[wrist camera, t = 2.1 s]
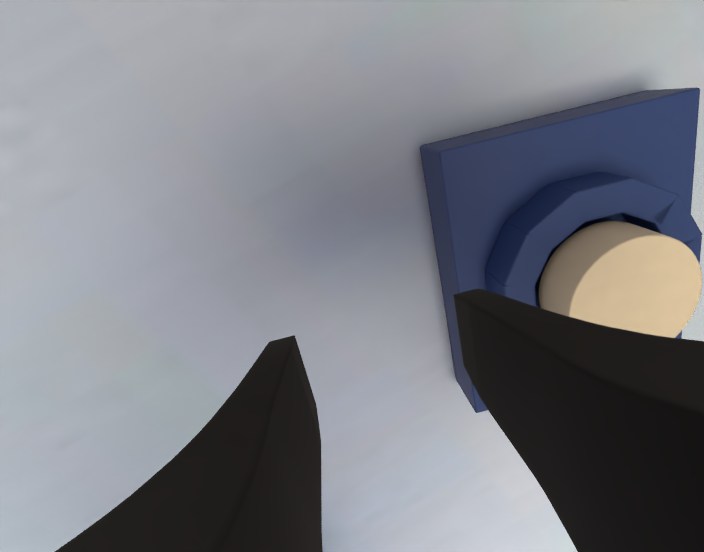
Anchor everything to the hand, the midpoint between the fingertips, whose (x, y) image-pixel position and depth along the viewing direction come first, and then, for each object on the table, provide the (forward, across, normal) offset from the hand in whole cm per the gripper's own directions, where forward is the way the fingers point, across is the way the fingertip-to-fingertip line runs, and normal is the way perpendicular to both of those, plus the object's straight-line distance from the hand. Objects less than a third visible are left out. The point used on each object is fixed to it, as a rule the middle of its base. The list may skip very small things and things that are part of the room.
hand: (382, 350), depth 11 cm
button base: (+9, -9, +3) cm, 13 cm away
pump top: (+5, -9, +3) cm, 11 cm away
